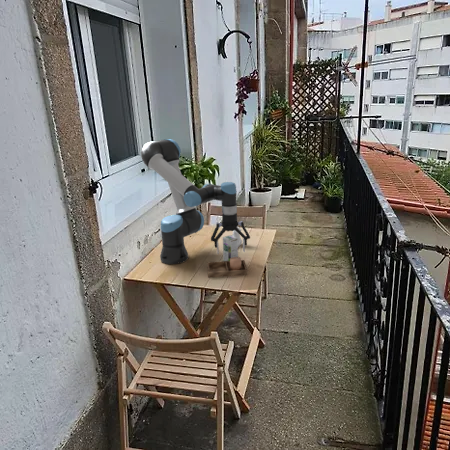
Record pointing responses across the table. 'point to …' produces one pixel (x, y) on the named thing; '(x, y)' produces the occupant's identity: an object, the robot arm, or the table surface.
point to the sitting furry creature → (237, 236)
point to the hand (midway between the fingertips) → (231, 252)
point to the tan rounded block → (235, 263)
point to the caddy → (225, 269)
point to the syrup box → (230, 247)
